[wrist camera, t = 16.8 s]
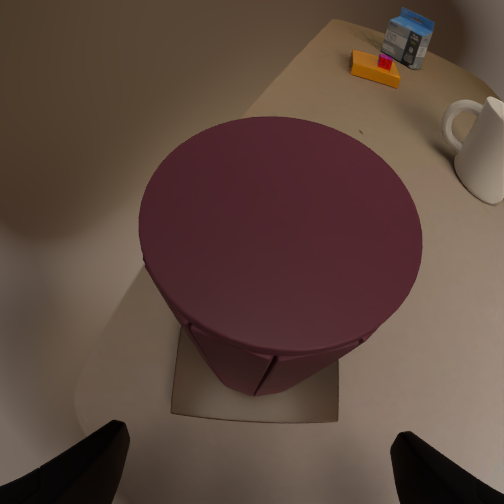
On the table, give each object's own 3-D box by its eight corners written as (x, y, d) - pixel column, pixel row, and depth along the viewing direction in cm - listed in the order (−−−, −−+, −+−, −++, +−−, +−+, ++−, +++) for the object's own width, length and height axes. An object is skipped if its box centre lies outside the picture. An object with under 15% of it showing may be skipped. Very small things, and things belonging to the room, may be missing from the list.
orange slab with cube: (350, 74, 39) (355, 52, 36) (350, 59, 43) (354, 39, 40) (397, 88, 39) (404, 67, 35) (391, 71, 43) (397, 52, 39)
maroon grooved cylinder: (335, 346, 18) (461, 225, 7) (250, 417, 15) (270, 430, 4) (266, 271, 20) (290, 95, 9) (182, 330, 18) (97, 185, 7)
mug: (420, 158, 29) (455, 86, 20) (435, 133, 33) (462, 73, 24) (498, 218, 25) (545, 158, 17) (501, 184, 29) (538, 130, 20)
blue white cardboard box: (379, 51, 49) (391, 4, 38) (390, 51, 50) (402, 6, 39) (411, 69, 45) (426, 20, 34) (420, 69, 46) (436, 22, 35)
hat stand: (333, 421, 16) (372, 422, 11) (173, 413, 16) (143, 412, 11) (331, 280, 21) (358, 233, 16) (192, 271, 21) (176, 220, 16)
